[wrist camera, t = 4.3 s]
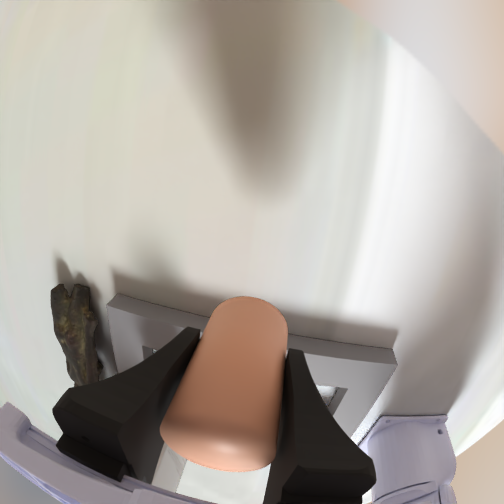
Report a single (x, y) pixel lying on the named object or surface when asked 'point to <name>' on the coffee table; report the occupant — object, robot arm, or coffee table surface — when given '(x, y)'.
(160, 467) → the supplement box
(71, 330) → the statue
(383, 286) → the coffee table surface
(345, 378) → the pegboard
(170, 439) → the pin
